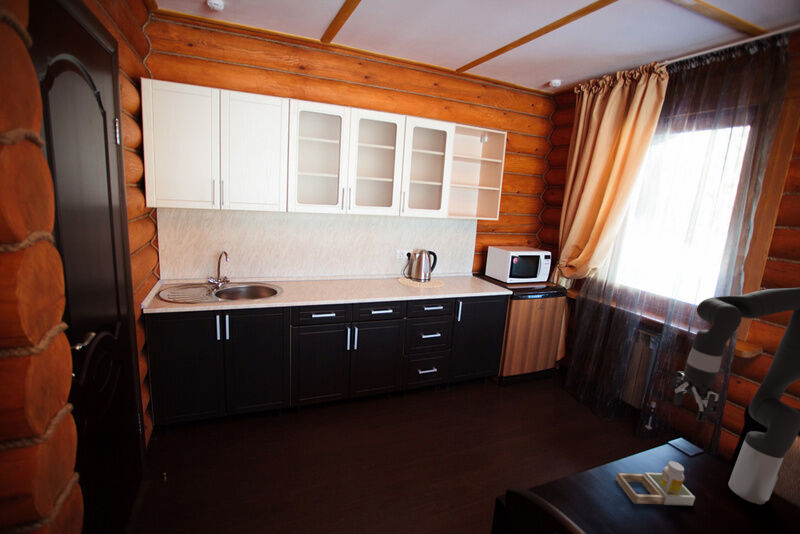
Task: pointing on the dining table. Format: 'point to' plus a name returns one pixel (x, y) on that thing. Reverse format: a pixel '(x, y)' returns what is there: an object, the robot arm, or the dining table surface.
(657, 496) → the wooden frame
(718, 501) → the dining table surface
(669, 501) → the tray
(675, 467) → the supplement bottle
